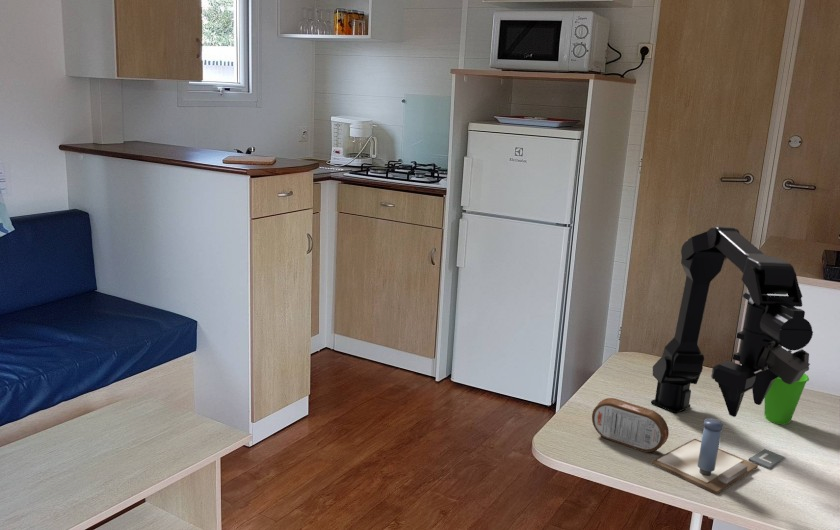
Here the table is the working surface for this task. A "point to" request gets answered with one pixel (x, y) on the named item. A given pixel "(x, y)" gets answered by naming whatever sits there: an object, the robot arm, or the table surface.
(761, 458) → the letter tile
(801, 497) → the table surface
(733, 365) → the robot arm
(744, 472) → the clipboard
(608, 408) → the tin
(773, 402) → the cup
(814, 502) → the table surface
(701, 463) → the cylinder
